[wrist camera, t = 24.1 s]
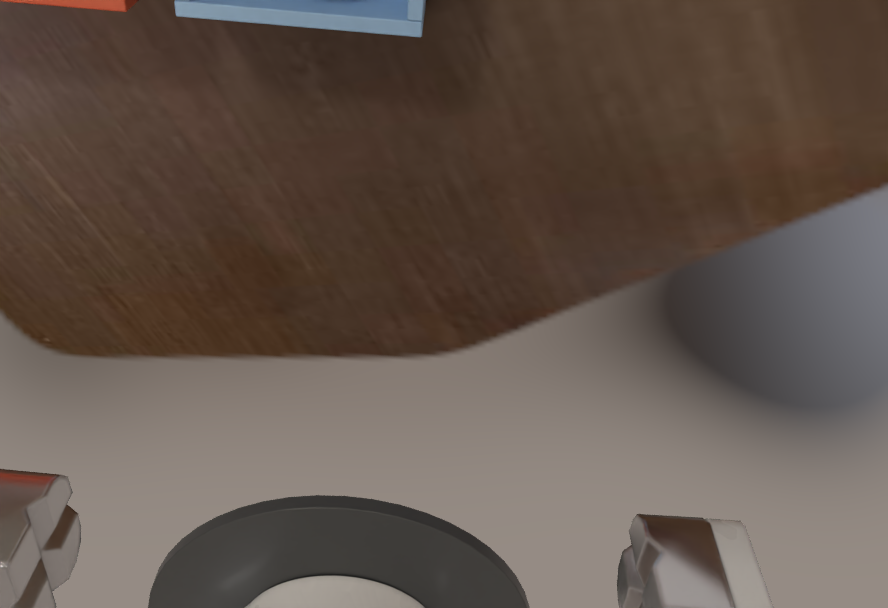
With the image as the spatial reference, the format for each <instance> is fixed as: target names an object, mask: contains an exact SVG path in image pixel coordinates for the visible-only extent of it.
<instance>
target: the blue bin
mask: <svg viewBox="0 0 888 608" xmlns="http://www.w3.org/2000/svg"><path fill="white" fill-rule="evenodd" d="M425 5H426V0H175V12H176V16H178V17H189V18H201V19H213V20H224V21H236V22H248V23H259V24H271V25H282V26H294V27H306V28H317V29H329V30H341V31H352V32H364V33H375V34H387V35H399V36H410V37H421V36H422V31H423V23H424V15H425Z"/></svg>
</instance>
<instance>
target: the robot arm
mask: <svg viewBox="0 0 888 608" xmlns="http://www.w3.org/2000/svg"><path fill="white" fill-rule="evenodd" d="M71 494H72V489H71V486H70V483H69V480H68V477H67V476H63V475H57V474H47V473H37V472H26V471H16V470H5V469H0V608H56V603H55V600H54V597H53V593H52V591H54V590H55V589H56V588H58V587H59V586H60V585H62V584H63V583H64V582H66V581H67V580H68V579H69V577H70V575H71V573H72V570H73V568H74V566H75V563H76V561H77V556H78V552H79V547H80V542H81V525H80V521H79V516H78V513H77V512H75V511H74V510H73V509H72V508H71V507H69V506H68V505H67V503H68V501H69V499H70V497H71ZM629 533H630V539H631V544H632V545H631V546H629V547H628V548H627V549H625V550H624V551H623V552H622V556H621V559H620V563H619V568H618V580H617V591H618V603H619V608H774V607H773V604H772V601H771V599H770V596H769V593H768V590H767V587H766V584H765V581H764V578H763V576H762V573H761V570H760V567H759V564H758V561H757V558H756V555H755V552H754V550H753V547H752V544H751V541H750V539H749V535H748V533H747V530H746V527H745V526H744V525H743V523H742V522H741V521H734V520H720V519H703V518H695V517H679V516H662V515H660V516H659V515H644V514H637V515H636V516H635V518H634V519H633V521H632V524H631V527H630V530H629ZM245 608H425V607H424V606H423V605H422V604H420V603H419V602H418V601H416V600H415V599H414V598H412V597H411V596H409V595H407V594H406V593H404V592H402V591H400V590H397V589H395V588H393V587H390V586H388V585H385V584H382V583H379V582H375V581H371V580H367V579H362V578H356V577H348V576H313V577H305V578H300V579H295V580H291V581H287V582H284V583H281V584H279V585H276V586H274V587H272V588H270V589H268V590H266V591H264V592H263V593H261V594H260V595H259V596H257V597H256V598H255V599H254V600H253V601H252V602H251V603H249V604H248V605H247V606H246V607H245Z"/></svg>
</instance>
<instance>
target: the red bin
mask: <svg viewBox="0 0 888 608" xmlns="http://www.w3.org/2000/svg"><path fill="white" fill-rule="evenodd" d="M0 1H3V2H15V3H27V4H38V5H50V6H62V7H73V8H85V9H96V10H108V11H120V12H127V11H128V10H129V9H130V8H131V7H132V6H133V5H134V4H135V3H136V2H137V1H138V0H0Z"/></svg>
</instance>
